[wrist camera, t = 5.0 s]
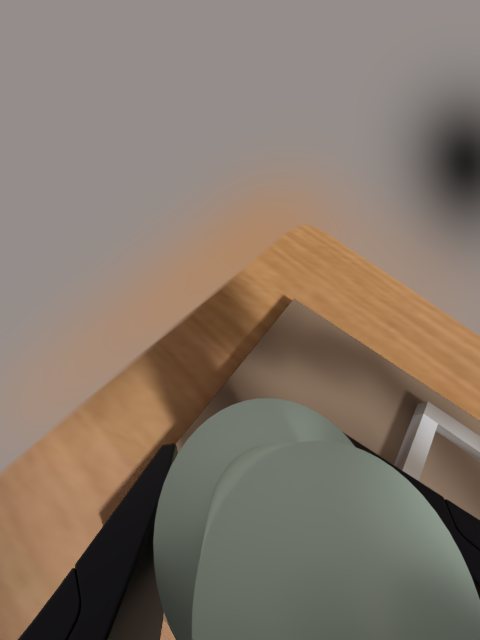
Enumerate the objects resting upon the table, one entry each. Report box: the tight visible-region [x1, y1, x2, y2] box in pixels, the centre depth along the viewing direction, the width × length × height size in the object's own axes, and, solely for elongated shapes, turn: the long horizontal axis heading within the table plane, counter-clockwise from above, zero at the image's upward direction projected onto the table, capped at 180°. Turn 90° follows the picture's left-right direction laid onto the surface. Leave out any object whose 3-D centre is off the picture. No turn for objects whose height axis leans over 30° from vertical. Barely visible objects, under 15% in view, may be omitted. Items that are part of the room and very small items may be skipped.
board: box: [163, 299, 480, 625], centre depth 14 cm, size 20×24×2 cm
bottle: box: [153, 398, 480, 640], centre depth 7 cm, size 5×5×12 cm
